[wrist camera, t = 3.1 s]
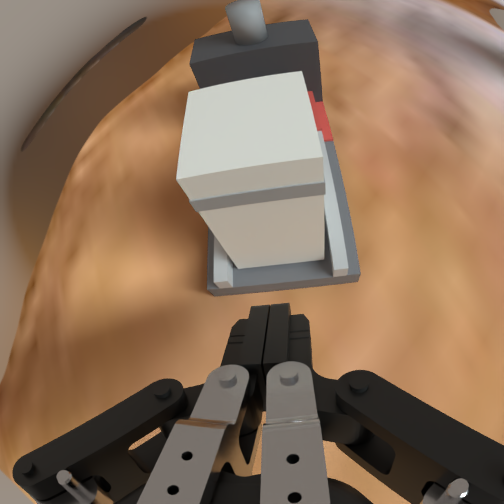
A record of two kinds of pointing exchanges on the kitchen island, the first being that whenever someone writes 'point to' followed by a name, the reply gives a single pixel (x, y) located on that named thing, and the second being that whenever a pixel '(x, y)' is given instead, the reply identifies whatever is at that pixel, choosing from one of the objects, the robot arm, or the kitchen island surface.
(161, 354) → the kitchen island surface
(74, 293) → the kitchen island surface
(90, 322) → the kitchen island surface
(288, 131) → the grooved white block
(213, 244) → the grey boxy device
